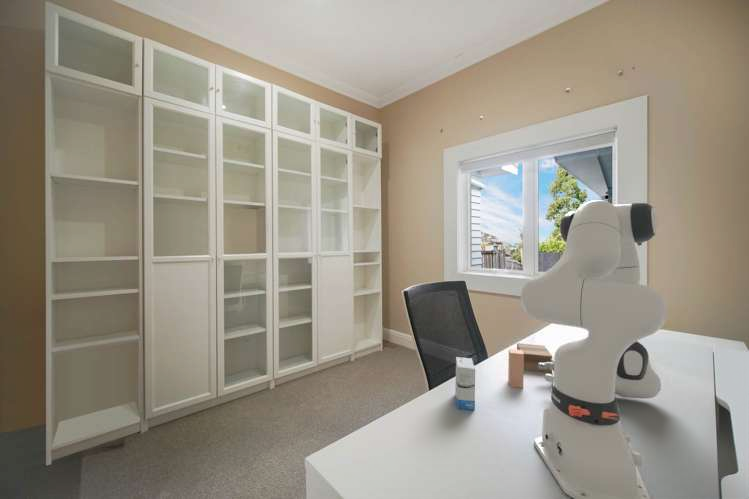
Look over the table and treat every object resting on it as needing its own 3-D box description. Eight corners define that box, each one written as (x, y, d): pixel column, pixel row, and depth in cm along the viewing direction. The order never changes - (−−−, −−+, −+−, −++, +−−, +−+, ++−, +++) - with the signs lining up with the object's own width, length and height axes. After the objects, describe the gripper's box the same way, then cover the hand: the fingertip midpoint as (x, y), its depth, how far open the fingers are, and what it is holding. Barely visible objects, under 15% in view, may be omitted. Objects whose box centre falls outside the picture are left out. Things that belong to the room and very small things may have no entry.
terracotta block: (523, 388, 98) (523, 354, 97) (509, 386, 99) (510, 352, 99) (521, 382, 101) (521, 350, 101) (508, 380, 103) (508, 348, 102)
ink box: (475, 410, 84) (475, 368, 84) (456, 408, 85) (457, 367, 85) (471, 395, 92) (472, 357, 92) (455, 394, 93) (455, 356, 93)
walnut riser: (552, 372, 109) (552, 356, 109) (521, 369, 112) (522, 353, 112) (544, 360, 121) (544, 345, 121) (516, 357, 124) (517, 343, 124)
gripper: (580, 355, 103) (535, 350, 107) (605, 381, 84) (549, 374, 88) (579, 373, 103) (534, 368, 108) (605, 403, 84) (549, 395, 88)
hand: (541, 371), depth 98 cm, fingers open, 8 cm apart
